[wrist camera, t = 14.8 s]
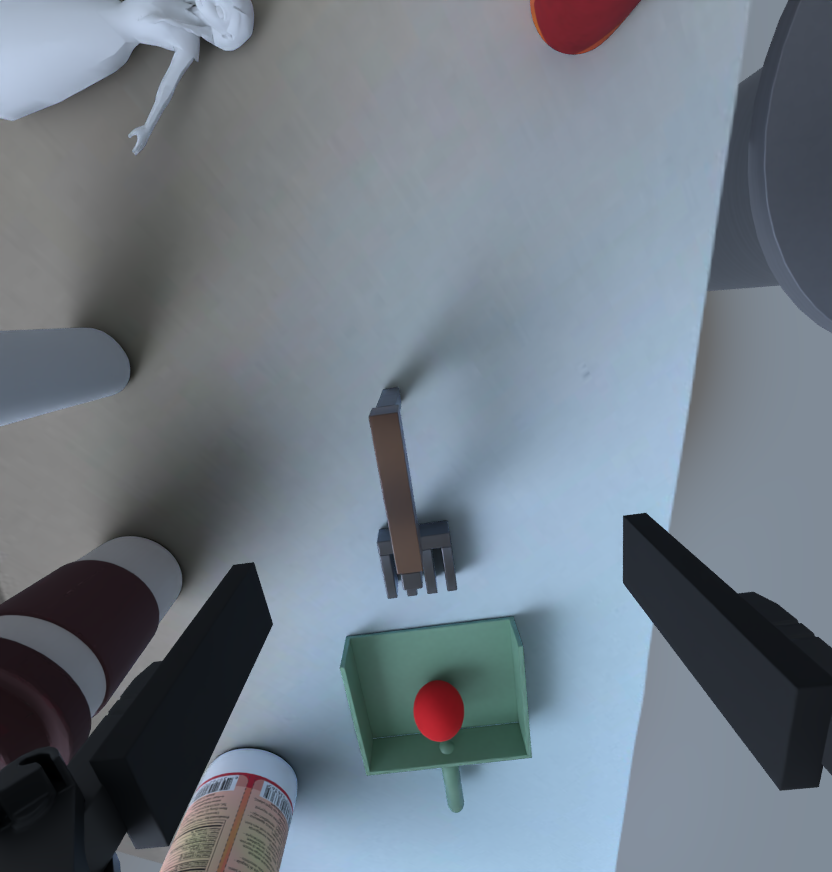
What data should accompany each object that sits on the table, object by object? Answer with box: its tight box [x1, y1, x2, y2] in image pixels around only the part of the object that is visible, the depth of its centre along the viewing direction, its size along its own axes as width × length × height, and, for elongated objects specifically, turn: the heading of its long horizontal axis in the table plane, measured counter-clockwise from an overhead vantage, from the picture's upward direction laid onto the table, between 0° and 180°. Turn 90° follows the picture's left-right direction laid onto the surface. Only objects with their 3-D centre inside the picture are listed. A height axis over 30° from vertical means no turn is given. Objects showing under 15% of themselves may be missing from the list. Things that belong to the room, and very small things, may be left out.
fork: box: [369, 387, 457, 599], centre depth 28 cm, size 16×6×8 cm, turn 8°
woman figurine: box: [0, 0, 254, 156], centre depth 21 cm, size 12×4×18 cm
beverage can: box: [0, 328, 130, 426], centre depth 23 cm, size 5×5×12 cm
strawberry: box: [413, 680, 464, 742], centre depth 35 cm, size 4×4×4 cm
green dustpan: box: [340, 616, 532, 813], centre depth 36 cm, size 20×15×3 cm
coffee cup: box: [0, 536, 182, 770], centre depth 26 cm, size 10×10×15 cm
